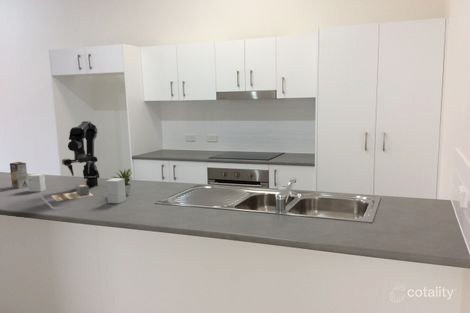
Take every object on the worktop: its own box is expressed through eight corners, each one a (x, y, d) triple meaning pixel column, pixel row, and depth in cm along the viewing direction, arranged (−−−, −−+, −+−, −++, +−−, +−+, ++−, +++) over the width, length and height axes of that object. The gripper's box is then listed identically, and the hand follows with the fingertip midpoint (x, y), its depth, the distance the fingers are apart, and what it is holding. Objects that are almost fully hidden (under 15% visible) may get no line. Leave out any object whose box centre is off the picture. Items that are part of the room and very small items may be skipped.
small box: (46, 189, 247) (44, 173, 246) (40, 191, 242) (39, 175, 240) (34, 189, 248) (32, 173, 246) (28, 191, 242) (27, 175, 241)
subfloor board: (85, 191, 239) (85, 190, 239) (93, 196, 227) (93, 195, 226) (50, 197, 228) (50, 195, 227) (57, 202, 215) (57, 200, 215)
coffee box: (11, 187, 256) (9, 163, 254) (21, 185, 262) (18, 161, 259) (19, 188, 252) (16, 164, 249) (28, 186, 257) (26, 162, 254)
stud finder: (84, 191, 235) (84, 183, 235) (89, 194, 228) (88, 186, 228) (76, 193, 233) (75, 184, 232) (80, 195, 225) (79, 187, 225)
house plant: (120, 191, 240) (119, 165, 238) (141, 191, 237) (140, 165, 235) (108, 196, 226) (107, 169, 224) (130, 197, 224) (129, 169, 221)
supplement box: (126, 200, 218) (125, 178, 216) (118, 203, 211) (117, 181, 209) (115, 199, 220) (114, 177, 218) (107, 202, 213) (105, 180, 211)
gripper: (65, 151, 215) (67, 179, 217) (99, 148, 225) (101, 174, 228) (60, 149, 223) (63, 176, 226) (93, 146, 234) (95, 172, 237)
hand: (81, 174), depth 229 cm, fingers open, 9 cm apart
